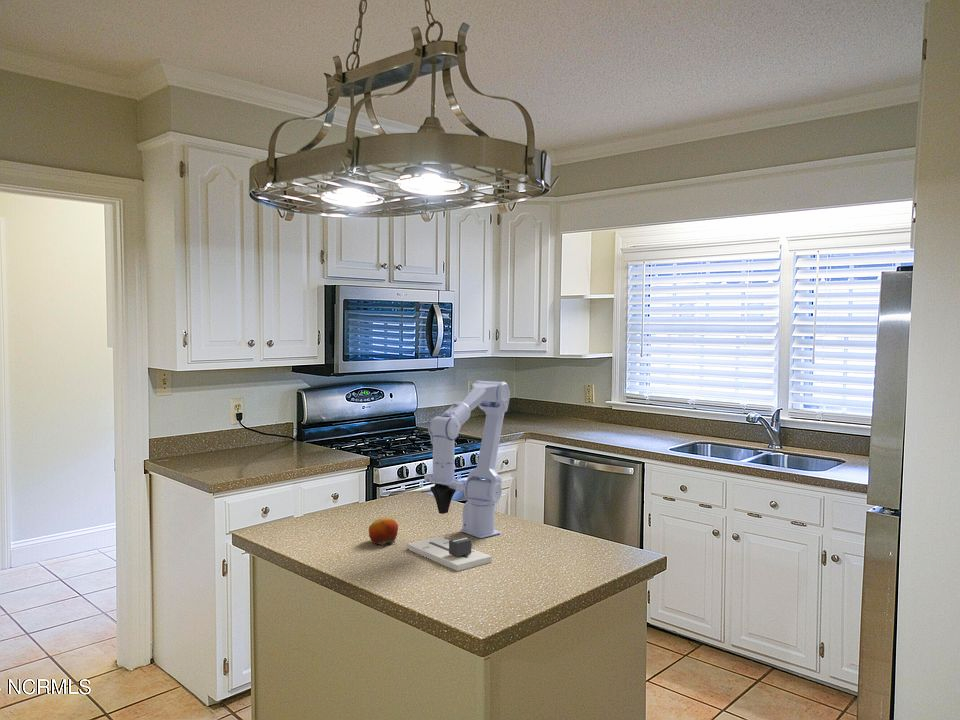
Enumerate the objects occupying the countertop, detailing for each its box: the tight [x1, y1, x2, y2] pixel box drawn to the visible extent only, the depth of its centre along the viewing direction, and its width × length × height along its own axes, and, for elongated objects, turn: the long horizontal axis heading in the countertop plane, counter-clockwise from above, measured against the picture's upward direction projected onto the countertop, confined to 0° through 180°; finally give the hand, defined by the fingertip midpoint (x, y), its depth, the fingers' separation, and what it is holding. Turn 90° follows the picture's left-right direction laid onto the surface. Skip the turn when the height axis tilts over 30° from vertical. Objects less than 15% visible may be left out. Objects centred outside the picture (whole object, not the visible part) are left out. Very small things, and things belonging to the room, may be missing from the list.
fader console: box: [406, 536, 493, 572], centre depth 190 cm, size 22×11×2 cm, turn 40°
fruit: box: [368, 517, 399, 546], centre depth 201 cm, size 8×8×8 cm
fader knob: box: [448, 536, 472, 557], centre depth 186 cm, size 4×4×4 cm
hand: (443, 512), depth 193 cm, fingers closed
